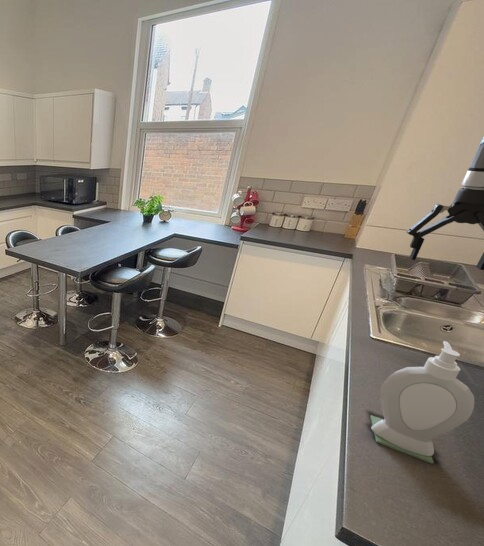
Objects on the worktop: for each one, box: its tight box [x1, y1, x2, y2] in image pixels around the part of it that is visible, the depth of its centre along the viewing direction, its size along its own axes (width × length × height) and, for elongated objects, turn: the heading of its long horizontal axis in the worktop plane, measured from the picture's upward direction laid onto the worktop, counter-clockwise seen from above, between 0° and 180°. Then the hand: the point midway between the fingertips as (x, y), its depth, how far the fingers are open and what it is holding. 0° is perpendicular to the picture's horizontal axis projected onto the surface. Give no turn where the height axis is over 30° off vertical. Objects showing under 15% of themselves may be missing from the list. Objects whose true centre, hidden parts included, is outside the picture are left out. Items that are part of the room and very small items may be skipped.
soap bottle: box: [370, 340, 475, 457], centre depth 66 cm, size 13×8×24 cm, turn 49°
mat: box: [369, 415, 435, 465], centre depth 71 cm, size 9×9×1 cm
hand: (444, 263), depth 90 cm, fingers open, 13 cm apart
